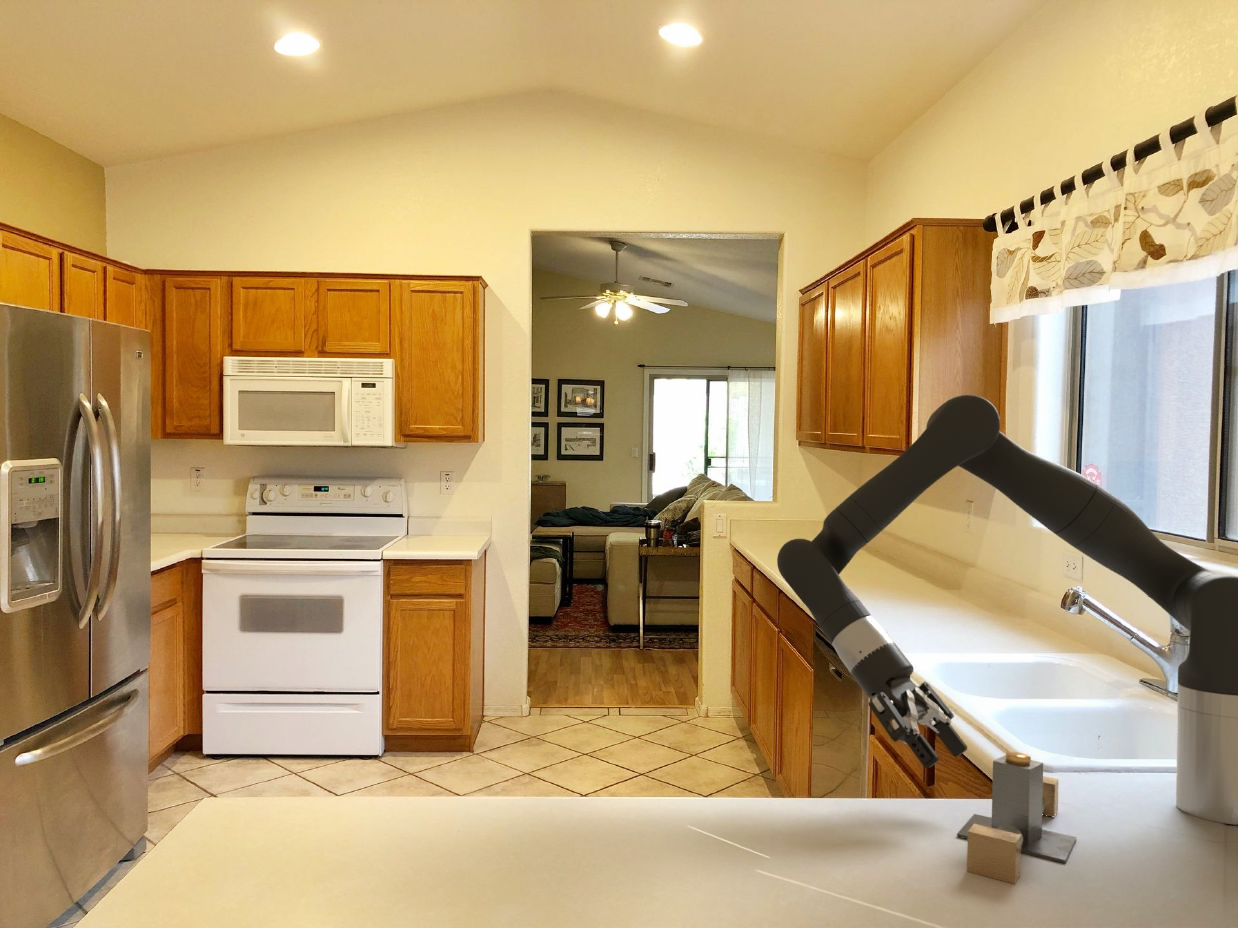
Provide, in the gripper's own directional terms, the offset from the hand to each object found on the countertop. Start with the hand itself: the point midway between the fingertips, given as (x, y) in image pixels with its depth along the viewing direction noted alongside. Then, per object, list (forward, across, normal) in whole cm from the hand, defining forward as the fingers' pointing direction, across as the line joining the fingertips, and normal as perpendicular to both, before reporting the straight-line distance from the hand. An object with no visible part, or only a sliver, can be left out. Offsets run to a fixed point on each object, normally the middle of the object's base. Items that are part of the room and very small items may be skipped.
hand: (948, 758), depth 113 cm
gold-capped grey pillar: (+11, 0, -1) cm, 11 cm away
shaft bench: (+12, 0, -1) cm, 12 cm away
